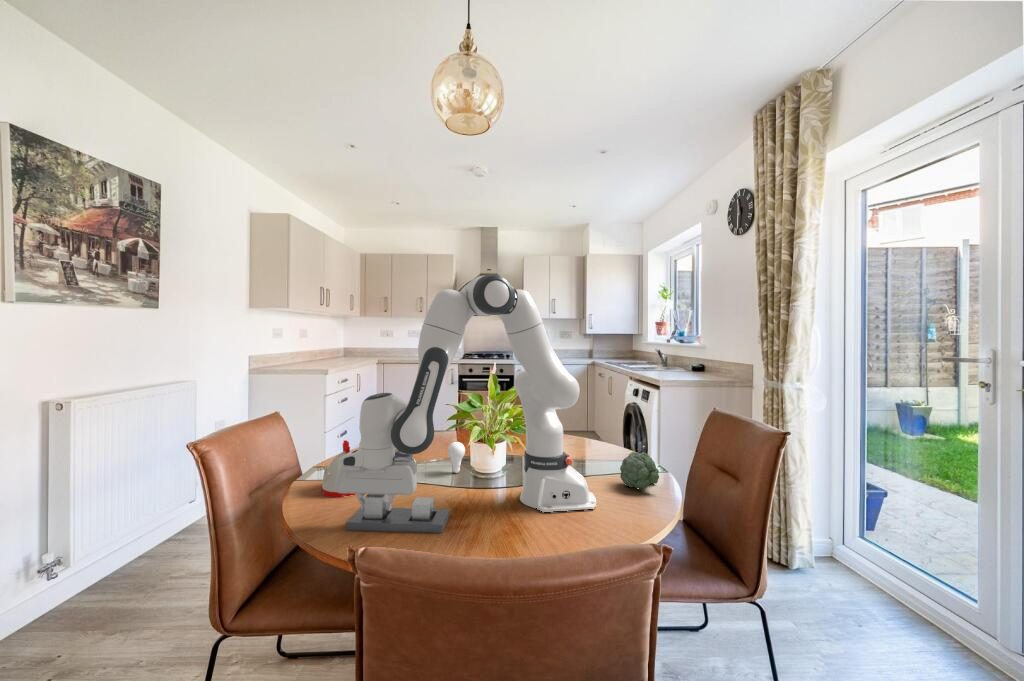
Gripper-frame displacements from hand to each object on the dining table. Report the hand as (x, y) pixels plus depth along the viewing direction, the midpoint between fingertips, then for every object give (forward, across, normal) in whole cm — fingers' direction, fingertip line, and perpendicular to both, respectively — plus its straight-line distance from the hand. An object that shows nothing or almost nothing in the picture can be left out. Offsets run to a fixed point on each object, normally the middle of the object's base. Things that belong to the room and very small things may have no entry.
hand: (376, 509), depth 103 cm
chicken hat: (+4, +18, -23) cm, 29 cm away
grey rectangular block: (+2, 0, 0) cm, 2 cm away
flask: (+4, +4, -34) cm, 34 cm away
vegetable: (+3, -76, -30) cm, 82 cm away
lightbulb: (+4, -14, -40) cm, 42 cm away
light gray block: (+3, -12, 0) cm, 13 cm away
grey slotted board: (+3, -6, 0) cm, 7 cm away
